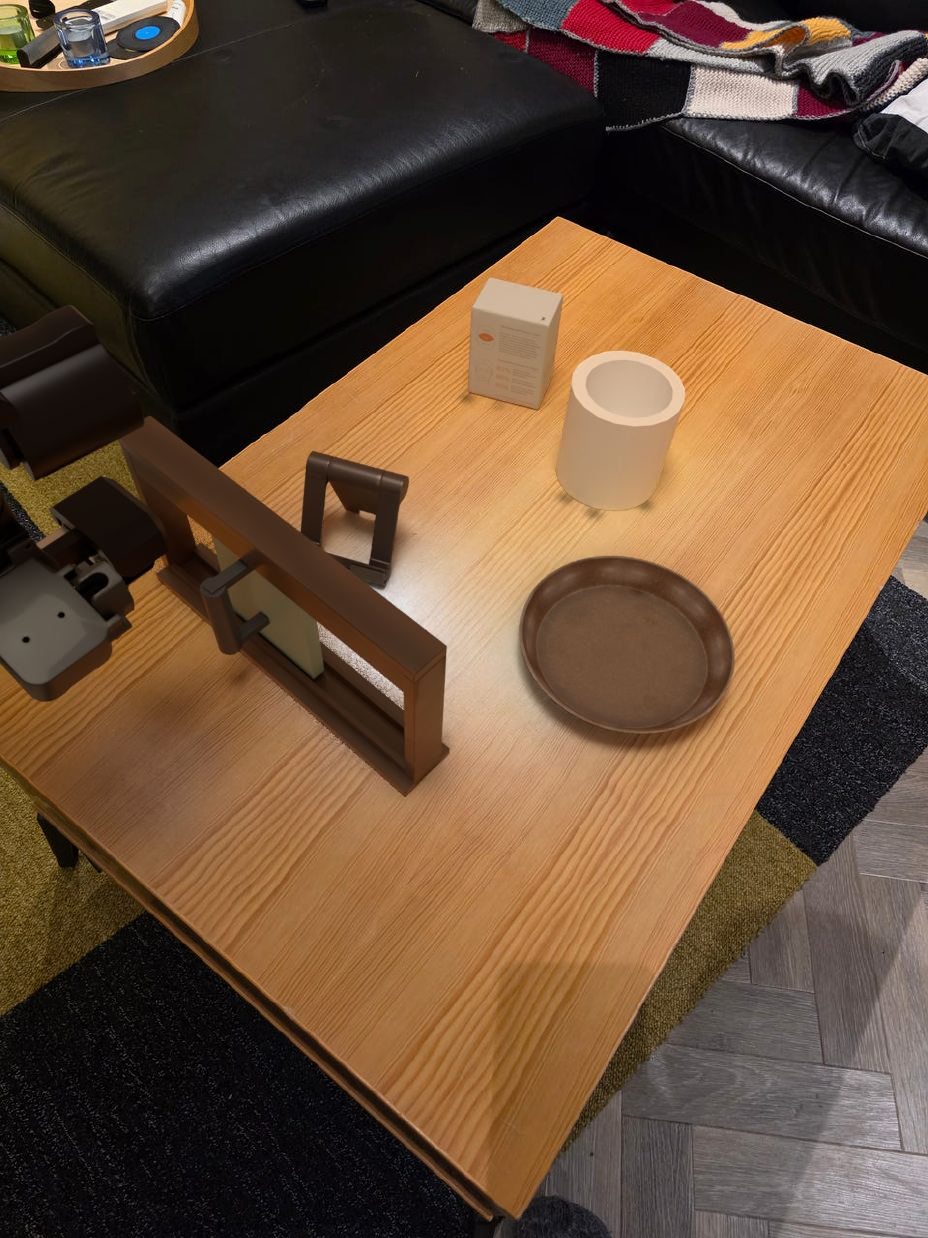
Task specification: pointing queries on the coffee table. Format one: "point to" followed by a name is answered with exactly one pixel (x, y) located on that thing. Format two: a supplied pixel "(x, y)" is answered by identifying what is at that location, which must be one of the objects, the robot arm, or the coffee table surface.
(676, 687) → the plant saucer
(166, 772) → the coffee table surface
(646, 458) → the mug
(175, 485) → the door frame
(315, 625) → the door
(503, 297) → the small box
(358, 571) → the tablet stand
